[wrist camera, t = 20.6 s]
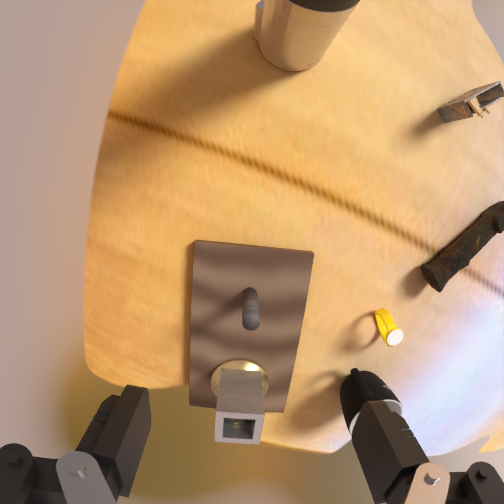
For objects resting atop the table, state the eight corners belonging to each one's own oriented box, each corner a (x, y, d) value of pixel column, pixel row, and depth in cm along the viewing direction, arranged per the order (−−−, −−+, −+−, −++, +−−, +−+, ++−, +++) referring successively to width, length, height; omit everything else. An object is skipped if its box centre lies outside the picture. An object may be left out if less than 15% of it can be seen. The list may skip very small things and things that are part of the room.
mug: (385, 388, 49) (406, 423, 39) (341, 410, 50) (356, 448, 40) (370, 342, 46) (394, 376, 37) (321, 366, 47) (336, 405, 37)
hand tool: (425, 287, 45) (443, 299, 39) (416, 264, 44) (434, 274, 38) (505, 216, 42) (524, 221, 37) (498, 193, 41) (518, 196, 36)
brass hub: (199, 381, 46) (194, 409, 39) (237, 347, 44) (236, 374, 37) (241, 409, 47) (241, 438, 40) (280, 379, 46) (285, 407, 39)
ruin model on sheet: (444, 125, 39) (482, 118, 30) (436, 108, 38) (472, 98, 29) (480, 104, 38) (516, 96, 28) (473, 89, 37) (508, 78, 28)
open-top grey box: (219, 397, 45) (214, 441, 35) (220, 367, 44) (216, 411, 34) (256, 399, 45) (259, 444, 36) (260, 370, 44) (264, 414, 34)
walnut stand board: (196, 239, 42) (181, 258, 32) (311, 251, 43) (331, 273, 32) (190, 399, 48) (181, 442, 38) (282, 407, 49) (289, 449, 39)
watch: (367, 308, 45) (382, 324, 39) (383, 300, 45) (399, 316, 39) (376, 338, 46) (390, 356, 40) (390, 330, 46) (406, 348, 40)
